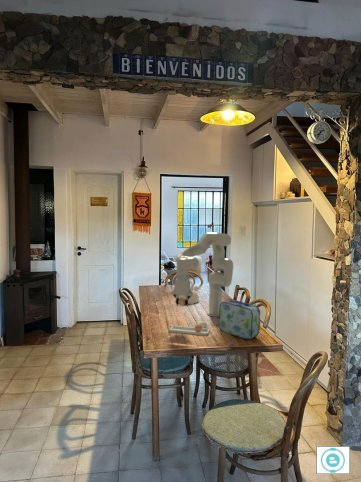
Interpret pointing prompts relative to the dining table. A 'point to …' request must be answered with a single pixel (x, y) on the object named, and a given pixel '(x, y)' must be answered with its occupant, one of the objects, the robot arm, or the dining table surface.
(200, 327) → the terracotta ball
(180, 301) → the terracotta ball
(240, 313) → the lunch box
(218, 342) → the dining table surface
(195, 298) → the kettle
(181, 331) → the grey channel
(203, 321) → the ball cream
